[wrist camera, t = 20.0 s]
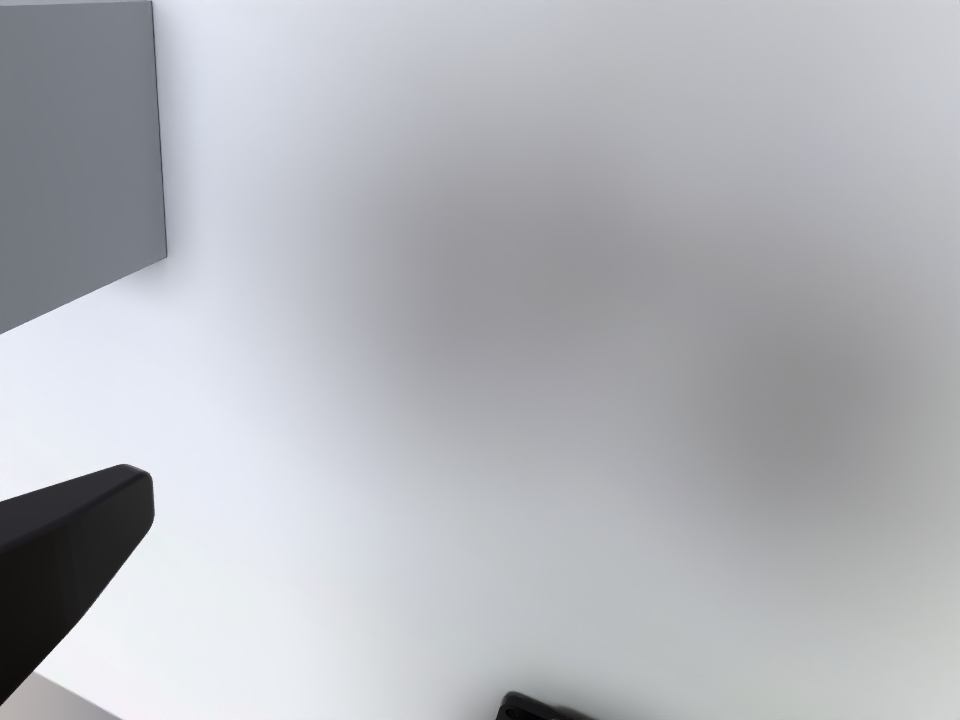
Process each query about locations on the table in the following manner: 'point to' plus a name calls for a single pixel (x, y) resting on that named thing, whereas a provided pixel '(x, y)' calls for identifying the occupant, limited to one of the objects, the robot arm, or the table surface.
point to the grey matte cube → (76, 151)
